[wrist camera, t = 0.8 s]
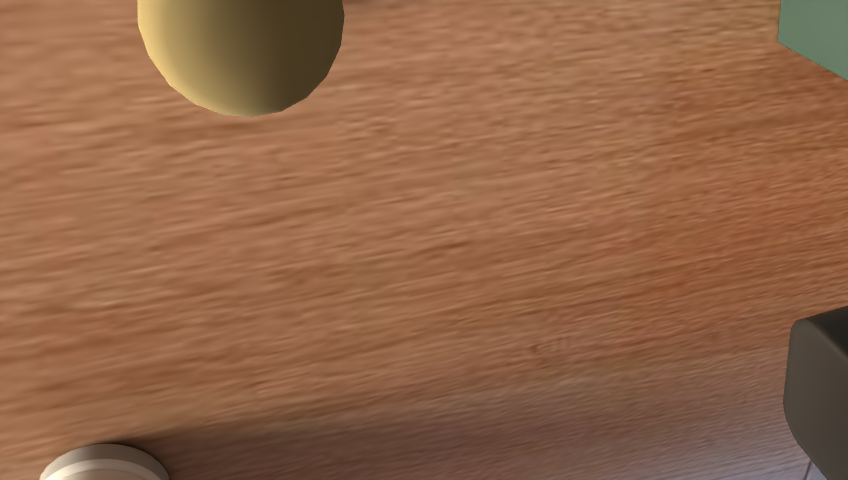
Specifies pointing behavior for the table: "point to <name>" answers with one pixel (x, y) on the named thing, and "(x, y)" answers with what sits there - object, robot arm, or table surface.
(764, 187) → the table surface
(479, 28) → the table surface
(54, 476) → the travel mug
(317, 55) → the tan game pawn
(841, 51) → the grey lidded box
